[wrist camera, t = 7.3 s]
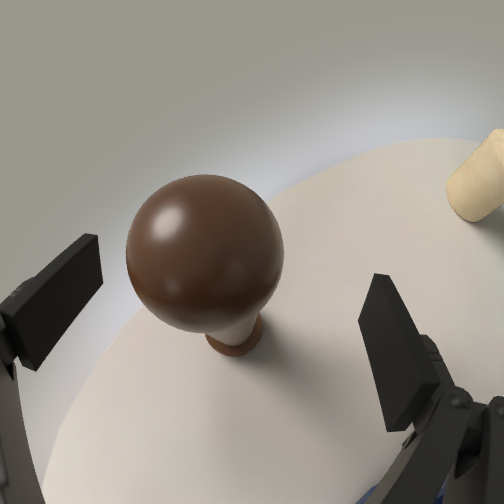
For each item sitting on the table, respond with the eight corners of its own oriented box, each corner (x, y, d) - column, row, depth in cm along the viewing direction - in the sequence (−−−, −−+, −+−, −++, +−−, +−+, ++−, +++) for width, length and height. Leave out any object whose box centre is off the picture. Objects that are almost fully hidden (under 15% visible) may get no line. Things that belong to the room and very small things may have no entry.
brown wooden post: (245, 292, 24) (249, 93, 6) (271, 340, 23) (376, 277, 4) (197, 316, 23) (54, 183, 5) (222, 365, 22) (127, 406, 4)
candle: (491, 218, 26) (551, 173, 17) (459, 227, 26) (524, 177, 16) (470, 172, 28) (521, 120, 19) (437, 177, 28) (490, 117, 18)
